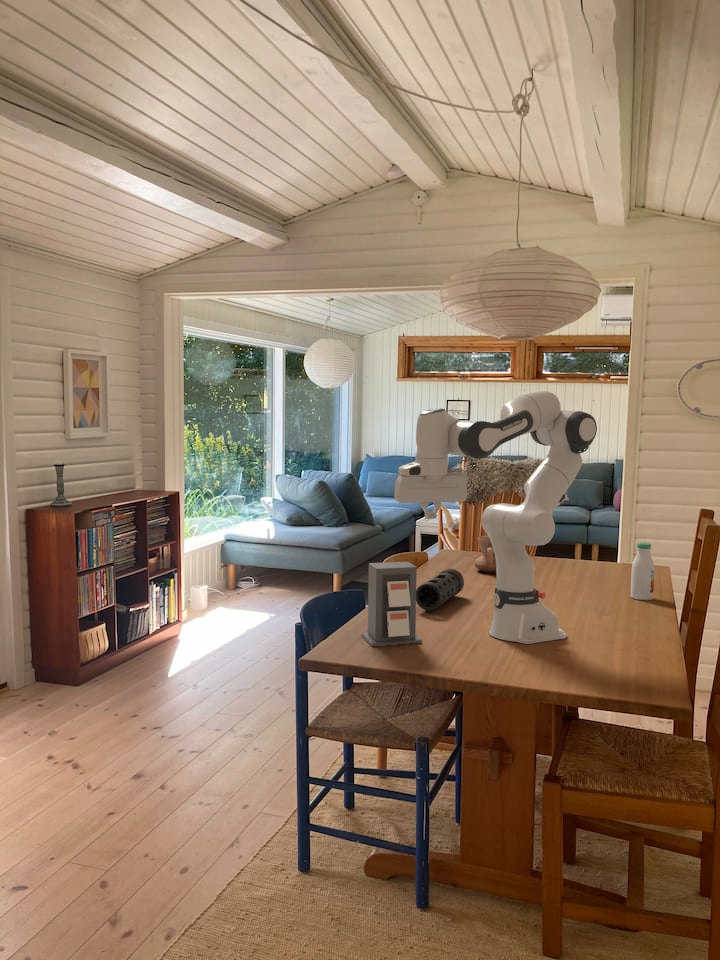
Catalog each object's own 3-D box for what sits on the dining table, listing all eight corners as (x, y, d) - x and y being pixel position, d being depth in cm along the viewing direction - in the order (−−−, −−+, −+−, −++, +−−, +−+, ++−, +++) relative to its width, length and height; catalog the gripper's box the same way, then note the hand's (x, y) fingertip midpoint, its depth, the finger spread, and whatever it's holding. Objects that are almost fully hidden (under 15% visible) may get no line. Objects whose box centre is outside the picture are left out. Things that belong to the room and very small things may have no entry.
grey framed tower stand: (409, 632, 234) (411, 560, 232) (421, 643, 223) (423, 567, 221) (361, 635, 230) (362, 562, 228) (371, 646, 219) (372, 570, 217)
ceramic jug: (478, 566, 334) (479, 533, 333) (512, 568, 329) (513, 535, 328) (470, 574, 317) (470, 540, 316) (505, 577, 312) (506, 542, 311)
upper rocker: (410, 606, 219) (407, 581, 221) (411, 605, 218) (409, 580, 220) (388, 607, 218) (386, 582, 220) (389, 606, 217) (387, 581, 218)
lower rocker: (409, 635, 221) (407, 610, 222) (410, 635, 219) (409, 610, 220) (387, 636, 219) (386, 611, 220) (389, 636, 218) (387, 611, 219)
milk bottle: (645, 601, 274) (648, 546, 273) (626, 597, 280) (628, 542, 278) (657, 598, 279) (659, 543, 277) (637, 594, 285) (640, 540, 283)
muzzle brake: (413, 612, 258) (414, 581, 257) (440, 594, 283) (440, 566, 282) (441, 615, 254) (442, 584, 253) (465, 597, 279) (466, 568, 278)
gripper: (462, 467, 218) (461, 515, 219) (392, 467, 212) (392, 517, 214) (471, 468, 212) (470, 519, 213) (399, 469, 206) (399, 521, 208)
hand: (430, 518), depth 213 cm, fingers closed
